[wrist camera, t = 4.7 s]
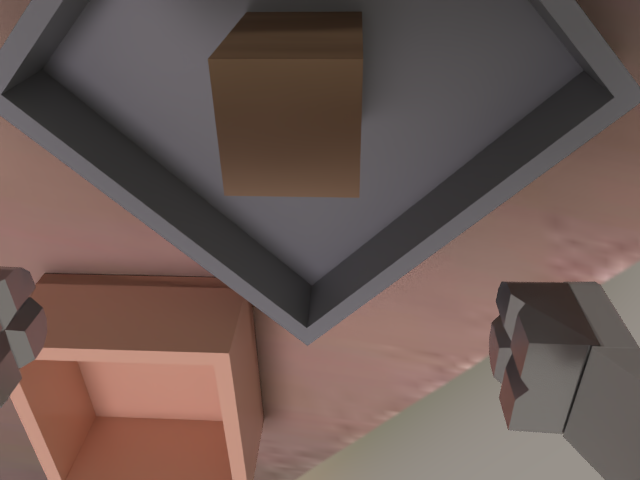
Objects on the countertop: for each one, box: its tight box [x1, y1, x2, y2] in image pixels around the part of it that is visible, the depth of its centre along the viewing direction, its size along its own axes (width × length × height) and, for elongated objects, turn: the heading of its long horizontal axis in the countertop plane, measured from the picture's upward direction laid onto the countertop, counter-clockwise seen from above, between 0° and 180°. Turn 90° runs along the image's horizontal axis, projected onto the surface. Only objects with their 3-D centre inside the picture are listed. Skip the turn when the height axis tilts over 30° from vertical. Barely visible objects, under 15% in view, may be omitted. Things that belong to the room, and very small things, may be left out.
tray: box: [0, 0, 640, 346], centre depth 20 cm, size 15×15×4 cm
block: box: [208, 12, 363, 198], centre depth 18 cm, size 4×4×6 cm
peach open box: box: [10, 274, 264, 480], centre depth 27 cm, size 10×10×5 cm
